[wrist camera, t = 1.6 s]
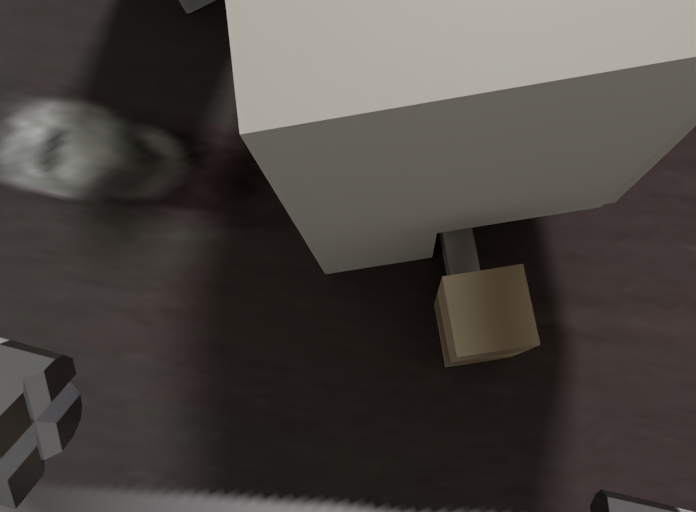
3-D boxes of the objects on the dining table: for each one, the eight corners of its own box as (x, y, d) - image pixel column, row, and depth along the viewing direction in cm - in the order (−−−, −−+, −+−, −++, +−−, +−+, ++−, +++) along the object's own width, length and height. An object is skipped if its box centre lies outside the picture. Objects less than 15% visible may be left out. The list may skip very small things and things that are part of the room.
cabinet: (325, 274, 41) (239, 134, 20) (285, -17, 46) (184, -377, 25) (582, 233, 40) (784, 41, 19) (512, -58, 45) (608, -468, 24)
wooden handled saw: (445, 367, 39) (456, 357, 30) (391, 65, 44) (388, -18, 35) (509, 357, 39) (540, 344, 30) (449, 55, 44) (460, -31, 35)
